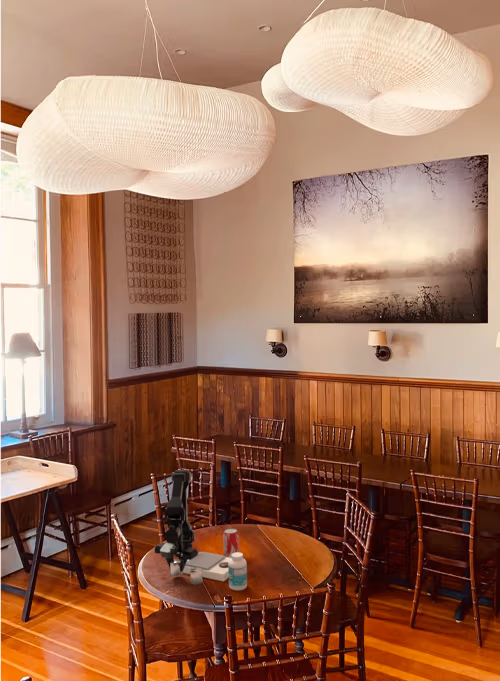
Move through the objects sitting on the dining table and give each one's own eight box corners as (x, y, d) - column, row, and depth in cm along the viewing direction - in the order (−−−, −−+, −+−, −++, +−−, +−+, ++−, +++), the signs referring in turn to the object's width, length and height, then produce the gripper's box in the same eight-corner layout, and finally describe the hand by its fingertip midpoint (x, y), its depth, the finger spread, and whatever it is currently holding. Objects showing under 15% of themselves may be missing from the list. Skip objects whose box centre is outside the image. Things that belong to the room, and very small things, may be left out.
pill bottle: (228, 583, 251) (227, 551, 250) (246, 582, 251) (245, 550, 251) (229, 591, 243) (228, 558, 243) (247, 590, 244) (247, 557, 243)
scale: (179, 572, 263) (179, 563, 263) (199, 558, 277) (199, 550, 277) (223, 581, 253) (223, 572, 253) (242, 566, 267) (241, 558, 267)
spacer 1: (168, 574, 257) (167, 562, 256) (175, 569, 261) (174, 558, 261) (178, 576, 254) (177, 564, 254) (184, 571, 259) (184, 560, 258)
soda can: (237, 560, 275) (236, 533, 274) (221, 559, 276) (221, 533, 275) (240, 553, 281) (239, 528, 281) (225, 553, 283) (225, 527, 282)
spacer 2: (188, 583, 252) (187, 571, 252) (194, 578, 256) (194, 566, 256) (198, 585, 250) (198, 573, 250) (205, 580, 254) (204, 568, 254)
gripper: (145, 537, 254) (147, 574, 255) (182, 544, 245) (184, 582, 246) (161, 528, 264) (162, 564, 265) (198, 535, 255) (199, 571, 256)
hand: (176, 570), depth 258 cm, fingers closed on spacer 1, 5 cm apart
